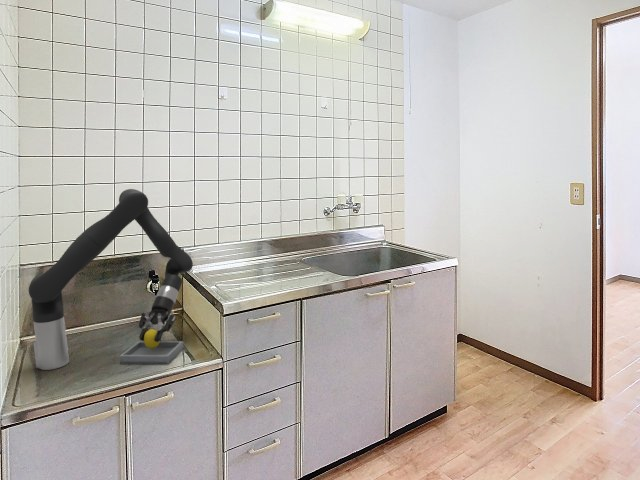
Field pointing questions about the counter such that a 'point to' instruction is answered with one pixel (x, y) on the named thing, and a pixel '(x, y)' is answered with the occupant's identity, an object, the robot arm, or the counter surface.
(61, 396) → the counter surface
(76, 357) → the counter surface
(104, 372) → the counter surface
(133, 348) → the tray
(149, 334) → the lemon
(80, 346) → the counter surface
